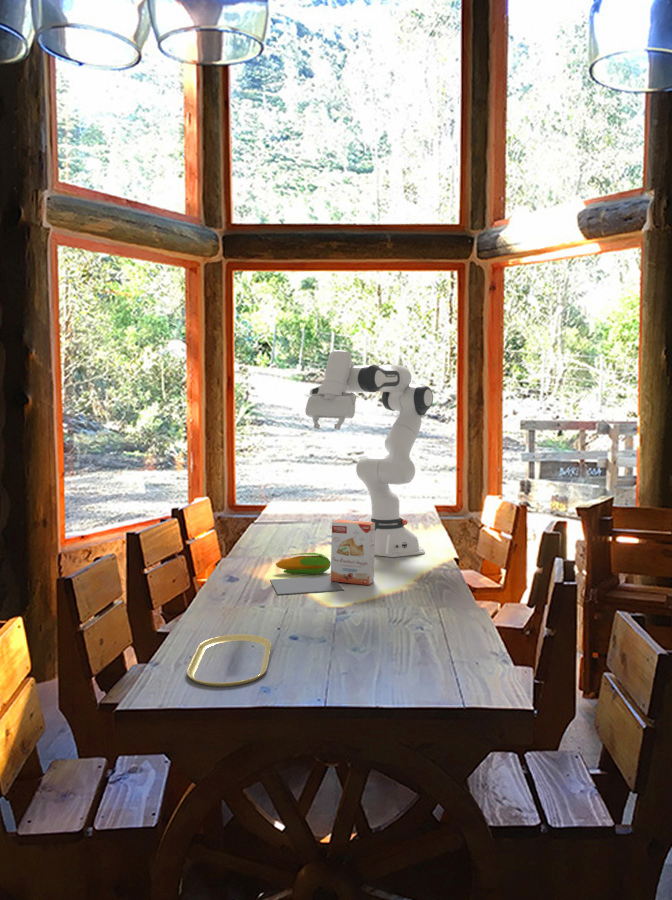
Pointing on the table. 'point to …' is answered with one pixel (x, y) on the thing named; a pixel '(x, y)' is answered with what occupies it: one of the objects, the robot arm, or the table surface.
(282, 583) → the mat
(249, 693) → the table surface
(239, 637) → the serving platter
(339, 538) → the cracker box
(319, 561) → the corn
